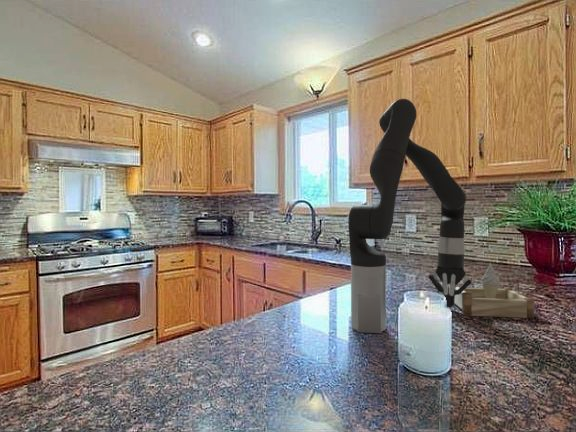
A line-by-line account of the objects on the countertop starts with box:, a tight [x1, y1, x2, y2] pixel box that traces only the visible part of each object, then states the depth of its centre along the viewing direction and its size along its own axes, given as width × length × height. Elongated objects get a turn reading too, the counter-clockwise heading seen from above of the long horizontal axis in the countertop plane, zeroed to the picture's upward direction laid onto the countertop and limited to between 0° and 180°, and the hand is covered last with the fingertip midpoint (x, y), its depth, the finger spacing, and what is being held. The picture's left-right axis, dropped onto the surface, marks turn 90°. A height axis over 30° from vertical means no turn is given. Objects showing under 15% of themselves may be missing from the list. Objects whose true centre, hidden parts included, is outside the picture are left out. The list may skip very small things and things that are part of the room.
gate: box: [454, 286, 465, 312], centre depth 114 cm, size 11×2×5 cm, turn 172°
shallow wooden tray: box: [456, 283, 535, 319], centre depth 113 cm, size 16×19×6 cm
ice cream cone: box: [481, 262, 500, 299], centre depth 113 cm, size 5×5×15 cm
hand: (448, 306), depth 112 cm, fingers closed
